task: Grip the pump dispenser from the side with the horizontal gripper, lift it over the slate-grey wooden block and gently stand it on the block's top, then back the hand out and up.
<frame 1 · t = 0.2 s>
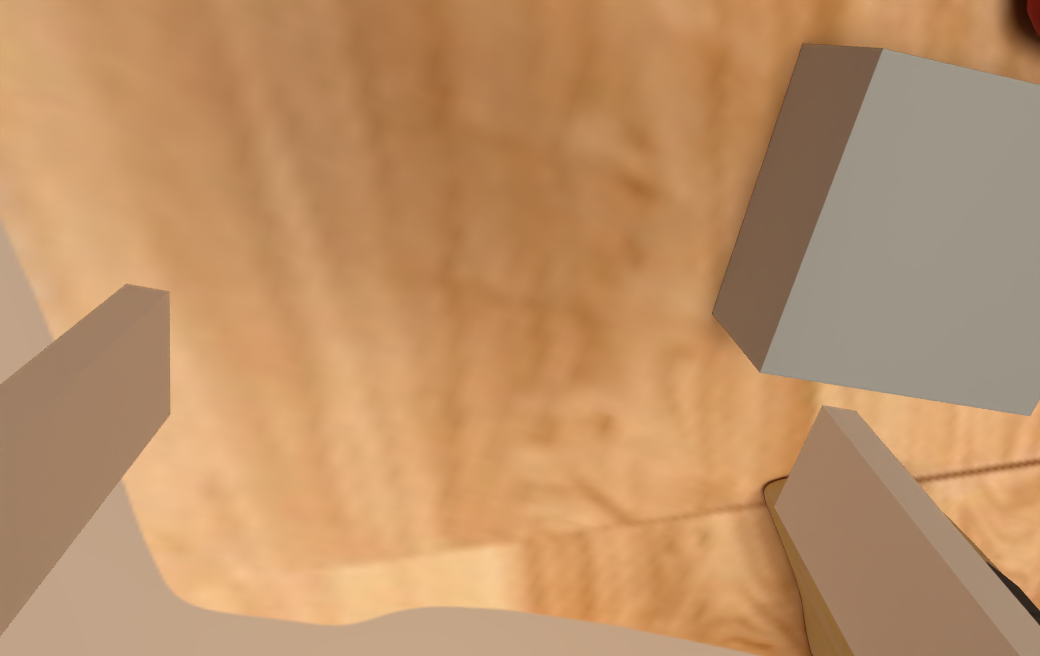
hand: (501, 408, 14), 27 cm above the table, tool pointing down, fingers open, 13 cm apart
slate block: (879, 213, 41), on the table
cheese: (826, 580, 53), on the table
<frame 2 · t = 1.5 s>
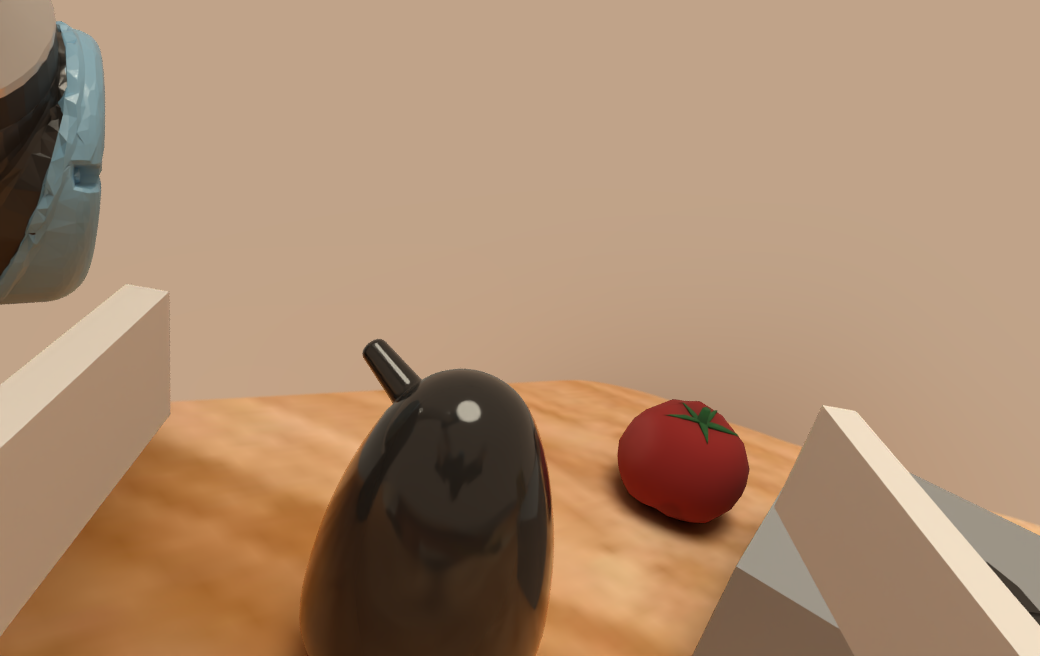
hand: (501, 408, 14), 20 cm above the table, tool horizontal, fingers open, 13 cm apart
tomato: (665, 501, 46), on the table
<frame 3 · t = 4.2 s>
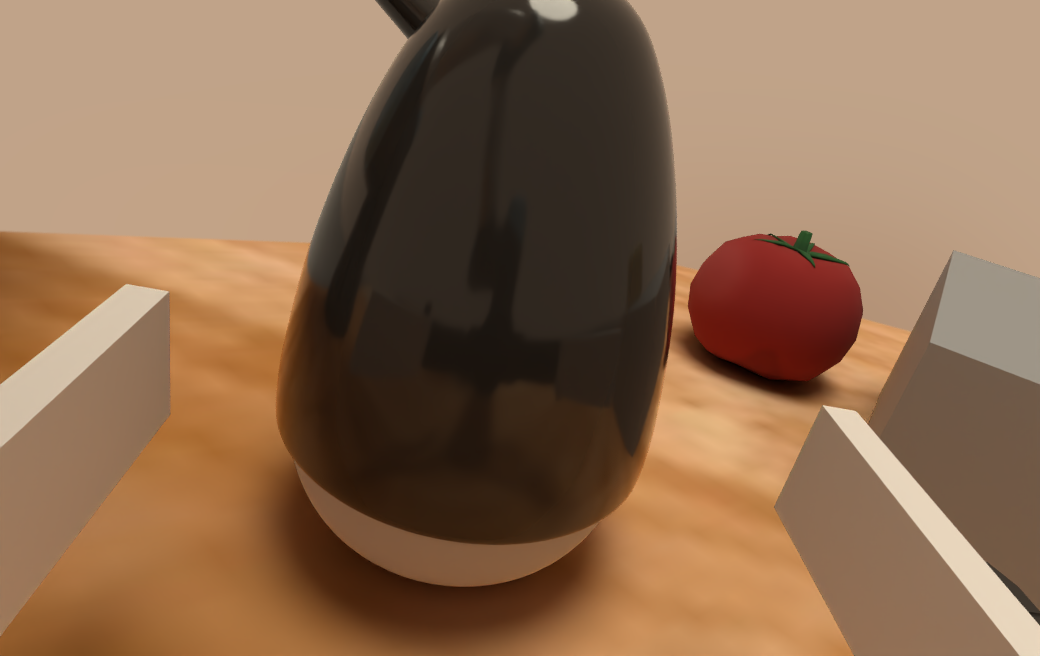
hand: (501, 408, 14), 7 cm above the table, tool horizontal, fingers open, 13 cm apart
tomato: (749, 365, 36), on the table
pump dispenser: (441, 513, 21), on the table
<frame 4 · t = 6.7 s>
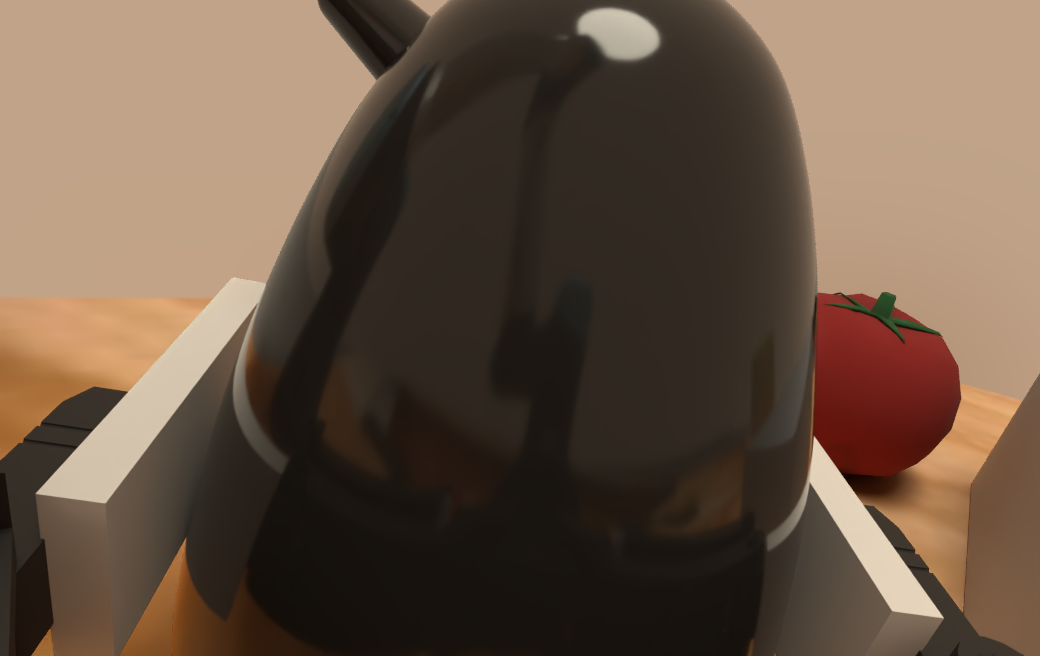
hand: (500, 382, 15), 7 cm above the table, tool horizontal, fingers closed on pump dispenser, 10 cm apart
tomato: (811, 449, 30), on the table
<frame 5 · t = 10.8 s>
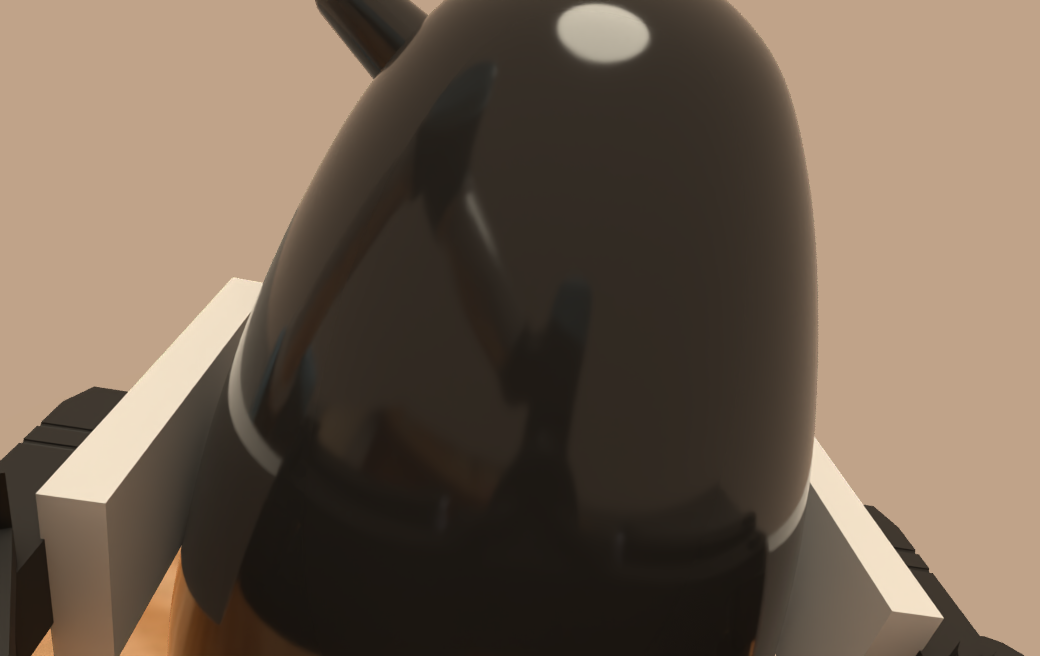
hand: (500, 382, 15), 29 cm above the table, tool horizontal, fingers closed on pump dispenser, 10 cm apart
when the fingers open (16 cm above the table, at t = 15.0 s): pump dispenser stays where it is, resting on slate block.
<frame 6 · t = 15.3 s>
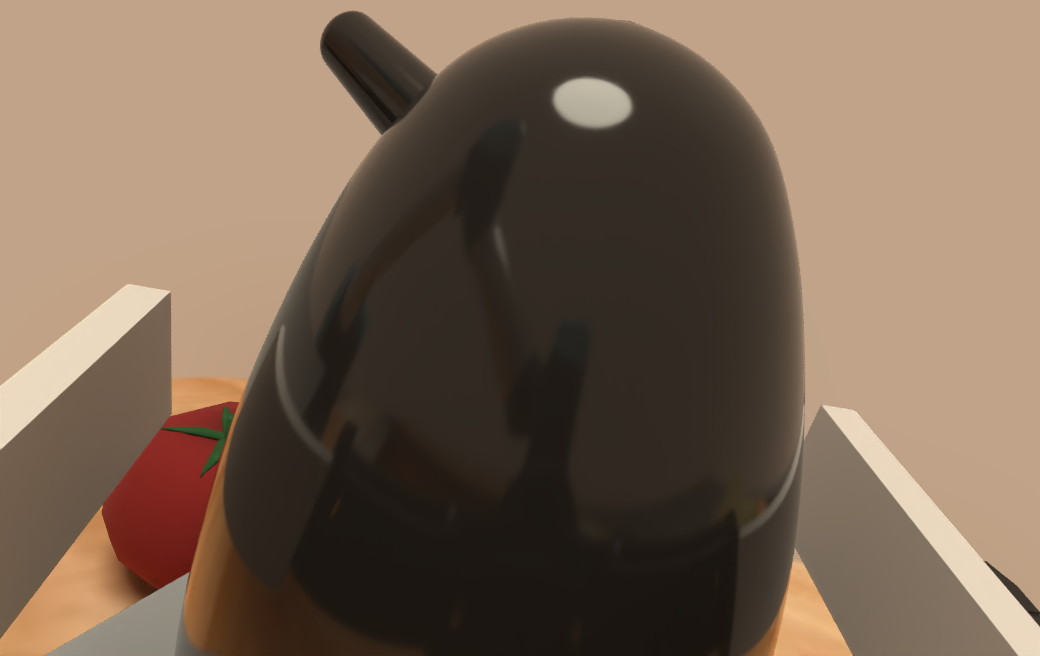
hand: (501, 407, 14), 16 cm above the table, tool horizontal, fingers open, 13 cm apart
tomato: (218, 566, 29), on the table
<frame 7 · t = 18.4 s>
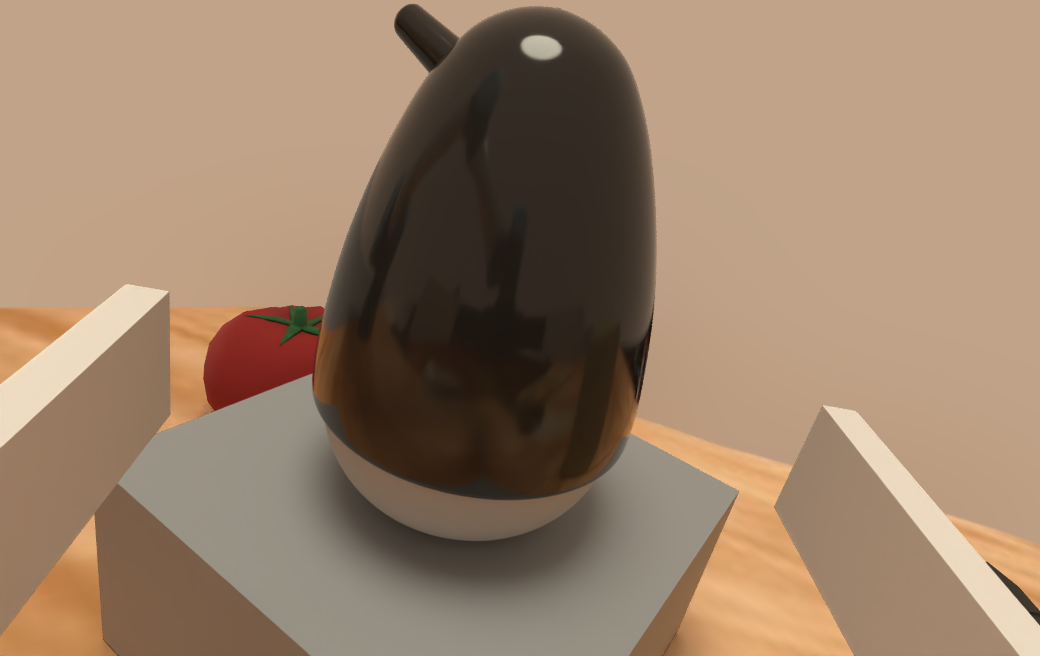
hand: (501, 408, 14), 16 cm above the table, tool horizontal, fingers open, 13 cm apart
tomato: (284, 430, 37), on the table
slate block: (420, 635, 27), on the table
pump dispenser: (452, 483, 24), point 8 cm above the table, touching slate block
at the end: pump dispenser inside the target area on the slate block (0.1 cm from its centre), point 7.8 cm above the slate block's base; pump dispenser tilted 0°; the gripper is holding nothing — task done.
